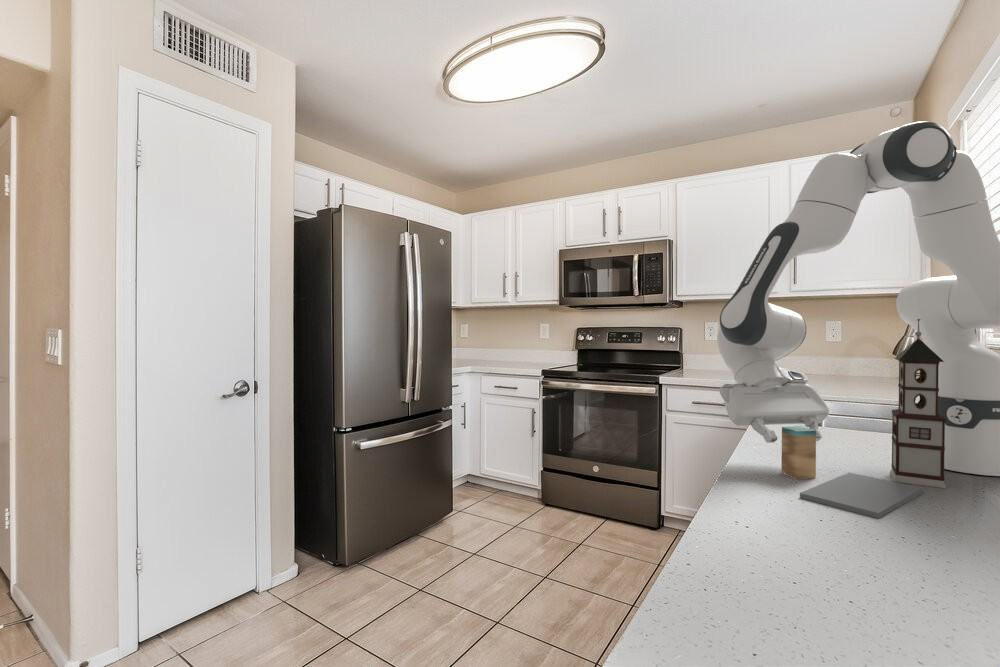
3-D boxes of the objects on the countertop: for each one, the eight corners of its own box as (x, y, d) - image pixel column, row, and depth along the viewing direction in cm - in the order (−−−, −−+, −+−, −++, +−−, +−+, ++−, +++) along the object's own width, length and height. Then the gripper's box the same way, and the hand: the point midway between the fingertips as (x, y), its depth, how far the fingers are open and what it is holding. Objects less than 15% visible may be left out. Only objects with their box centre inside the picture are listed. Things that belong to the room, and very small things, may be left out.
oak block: (781, 472, 97) (781, 426, 97) (800, 472, 98) (800, 426, 98) (796, 479, 94) (796, 431, 93) (815, 478, 94) (816, 430, 94)
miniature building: (893, 481, 92) (895, 318, 92) (889, 472, 98) (891, 318, 97) (946, 488, 88) (948, 318, 88) (938, 478, 94) (940, 318, 94)
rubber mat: (849, 476, 95) (849, 472, 95) (922, 492, 86) (922, 487, 86) (799, 497, 83) (799, 492, 83) (878, 518, 74) (878, 512, 74)
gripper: (722, 375, 102) (752, 432, 93) (812, 374, 105) (850, 429, 96) (710, 393, 107) (737, 450, 97) (796, 392, 110) (832, 447, 100)
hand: (794, 440), depth 97 cm, fingers open, 8 cm apart
